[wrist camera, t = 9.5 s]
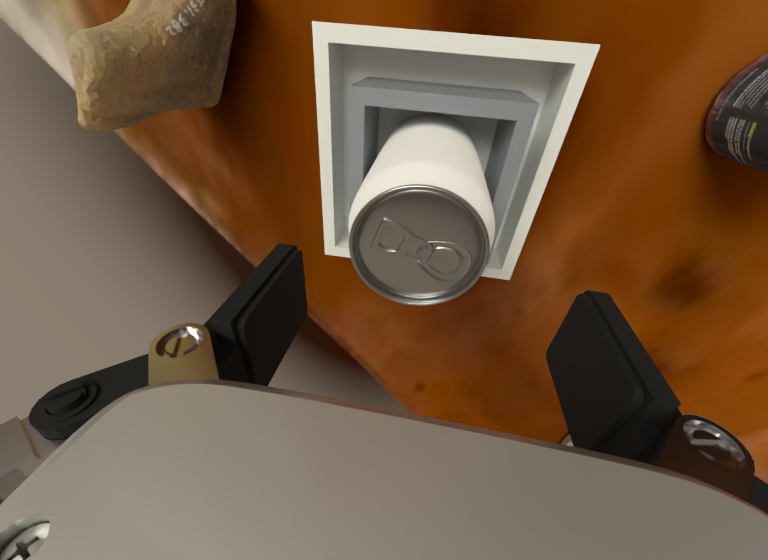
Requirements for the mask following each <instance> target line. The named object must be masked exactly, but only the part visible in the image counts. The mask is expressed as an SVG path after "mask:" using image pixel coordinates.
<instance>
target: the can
mask: <svg viewBox="0 0 768 560" xmlns="http://www.w3.org/2000/svg"><path fill="white" fill-rule="evenodd" d="M348 227H349V252H350V257H351V260H352V263H353V265H354V268H355V269H356V271H357V273H358V274H359V276H360V277H361V279H362V280H363V281H364V282H365V283H366V284H367V285H368V286H369V287H370V288H371V289H373V290H374V291H375V292H377V293H378V294H380V295H382V296H383V297H385V298H387V299H390V300H392V301H395V302H398V303H402V304H407V305H414V306H428V305H435V304H440V303H444V302H447V301H450V300H452V299H454V298H456V297H458V296H460V295H462V294H463V293H465V292H466V291H467V290H469V289H470V288H471V287H472V286H473V285H474V284H475V283H476V282H477V280H478V279H479V278H480V276H481V275H482V273H483V271H484V269H485V267H486V265H487V261H488V257H489V252H490V250H491V247H492V244H493V241H494V235H495V217H494V211H493V206H492V202H491V199H490V195H489V191H488V188H487V184H486V181H485V177H484V174H483V170H482V167H481V164H480V160H479V157H478V154H477V151H476V148H475V145H474V142H473V140H472V138H471V136H470V134H469V133H468V131H467V130H466V129H465V128H464V127H463V126H462V125H461V124H460V123H459V122H458V121H456V120H455V119H453V118H451V117H449V116H446V115H443V114H438V113H424V114H419V115H416V116H413V117H411V118H409V119H407V120H406V121H404V122H403V123H401V124H400V125H399V126H398V127H397V128H396V129H395V130H394V131H393V132H392V134H391V135H390V136H389V138H388V140H387V141H386V143H385V145H384V146H383V148H382V150H381V151H380V153H379V155H378V157H377V158H376V160H375V162H374V163H373V165H372V167H371V169H370V171H369V172H368V174H367V176H366V178H365V179H364V181H363V183H362V185H361V187H360V189H359V190H358V192H357V194H356V197H355V199H354V201H353V204H352V207H351V210H350V215H349V224H348Z"/></svg>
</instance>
